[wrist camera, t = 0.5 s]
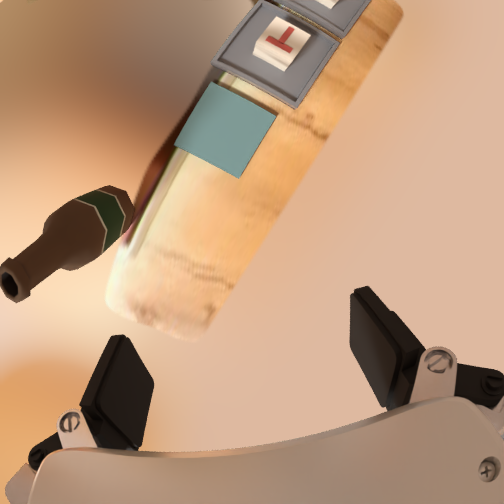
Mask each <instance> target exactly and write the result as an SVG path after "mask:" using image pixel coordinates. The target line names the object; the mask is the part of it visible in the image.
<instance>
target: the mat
mask: <svg viewBox="0 0 504 504" xmlns="http://www.w3.org/2000/svg"><path fill="white" fill-rule="evenodd" d="M275 118H276V116H275V115H273V114H272V113H270V112H268V111H266V110H265V109H263V108H261V107H259V106H258V105H256V104H254V103H252V102H250V101H248V100H247V99H245V98H243V97H241V96H239V95H237V94H235V93H233V92H231V91H229V90H227V89H225V88H223V87H221V86H219V85H217V84H215V83H213V82H211V83H210V84H209V86H208V87H207V89H206V91H205V92H204V94H203V95H202V97H201V98H200V100H199V102H198V103H197V105H196V107H195V108H194V110H193V112H192V113H191V115H190V117H189V118H188V120H187V122H186V124H185V125H184V127H183V129H182V131H181V133H180V134H179V136H178V138H177V140H176V142H175V144H174V145H175V146H177V147H179V148H181V149H183V150H185V151H187V152H189V153H191V154H193V155H195V156H197V157H199V158H201V159H203V160H205V161H207V162H209V163H210V164H212V165H214V166H216V167H218V168H220V169H222V170H224V171H226V172H227V173H229V174H231V175H233V176H235V177H237V178H238V179H239V177H240V176H241V174H242V172H243V171H244V169H245V167H246V165H247V164H248V162H249V160H250V159H251V157H252V155H253V154H254V152H255V150H256V149H257V147H258V145H259V144H260V142H261V140H262V139H263V137H264V136H265V134H266V132H267V131H268V129H269V127H270V126H271V124H272V123H273V121H274V119H275Z"/></svg>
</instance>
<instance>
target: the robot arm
mask: <svg viewBox="0 0 504 504" xmlns="http://www.w3.org/2000/svg"><path fill="white" fill-rule="evenodd" d="M350 348H351V350H352V352H353V354H354V356H355V358H356V359H357V361H358V363H359V365H360V367H361V369H362V371H363V373H364V374H365V377H366V378H367V380H368V382H369V384H370V386H371V388H372V390H373V392H374V394H375V395H376V397H377V400H378V402H379V403H380V405H381V407H386V409H387V412H384V413H381V414H379V415H376V416H373V417H370V418H367V419H364V420H361V421H359V422H355V423H352V424H349V425H346V426H342V427H339V428H336V429H332V430H329V431H325V432H321V433H318V434H314V435H309V436H305V437H301V438H297V439H292V440H287V441H282V442H277V443H271V444H265V445H258V446H252V447H244V448H235V449H226V450H214V451H198V452H149V451H138V449H139V447H141V445H142V442H143V436H144V431H145V426H146V421H147V416H148V411H149V407H150V402H151V398H152V393H153V389H154V381H153V378H152V377H151V375H150V374H149V372H148V370H147V368H146V367H145V365H144V363H143V362H142V360H141V359H140V357H139V355H138V353H137V351H136V350H135V348H134V346H133V344H132V342H131V340H130V339H129V338H128V337H126V336H125V335H114V336H111V337H110V339H109V341H108V343H107V345H106V347H105V349H104V351H103V353H102V355H101V357H100V359H99V362H98V364H97V366H96V368H95V370H94V372H93V374H92V377H91V379H90V381H89V383H88V386H87V388H86V390H85V393H84V395H83V397H82V400H81V402H80V404H79V405H80V406H81V407H82V408H81V411H79V410H77V409H69V410H67V411H65V412H64V413H62V415H61V416H60V417H59V419H58V421H57V431H58V432H56V433H55V434H53V435H52V436H50V437H49V438H47V439H45V440H44V441H43V442H41V443H39V444H37V445H36V446H34V447H33V448H32V450H31V451H30V453H29V456H28V461H29V464H27V463H25V464H24V465H23V466H22V467H21V469H20V470H19V471H18V472H17V473H16V474H15V475H14V476H13V477H12V478H11V480H10V481H9V482H8V483H7V485H6V488H5V494H6V496H7V498H8V500H9V502H10V503H11V504H504V375H503V373H501V372H500V371H498V370H494V369H488V368H482V367H476V366H470V365H464V364H459V363H457V358H456V356H455V354H454V353H453V352H452V351H451V350H449V349H447V348H444V347H432V348H429V349H427V350H426V349H425V348H424V346H423V345H422V344H421V343H420V341H419V340H418V339H417V338H416V337H415V335H414V334H413V333H412V332H411V331H410V329H409V328H408V327H407V326H406V325H405V323H404V322H403V321H402V320H401V319H400V318H399V317H398V315H397V314H396V313H395V312H394V311H390V310H389V309H388V308H387V307H386V305H385V304H384V303H383V302H382V301H381V300H380V298H379V297H378V296H377V295H376V294H375V293H374V292H373V291H372V290H371V288H370V287H369V286H365V287H361V288H357V289H355V290H354V293H352V294H351V295H350Z"/></svg>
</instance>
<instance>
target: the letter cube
mask: <svg viewBox="0 0 504 504" xmlns="http://www.w3.org/2000/svg"><path fill="white" fill-rule="evenodd" d="M310 36H311V35H310V34H308V33H306V32H305V31H303V30H301V29H299V28H298V27H296V26H294V25H292V24H290V23H288V22H286V21H285V20H283V19H281V18H279V17H277V16H276V17H275V19H274V20H273V21H272V22H271V23H270V25H269V26H268V27H267V28H266V30H265V31H264V32H263V34H262V35H261V36H260V37H259V39H258V40H257V41H256V44H255V48H254V51H253V55H255V56H257V57H258V58H260V59H262V60H264V61H266V62H268V63H270V64H272V65H273V66H275V67H277V68H279V69H281V70H282V71H285V70H286V69H287V67H288V66H289V65H290V64H291V62H292V61H293V60H294V58H295V57H296V55H297V54H298V53H299V51H300V50H301V48H302V47H303V46H304V44H305V43H306V41H307V40H308V39H309V37H310Z"/></svg>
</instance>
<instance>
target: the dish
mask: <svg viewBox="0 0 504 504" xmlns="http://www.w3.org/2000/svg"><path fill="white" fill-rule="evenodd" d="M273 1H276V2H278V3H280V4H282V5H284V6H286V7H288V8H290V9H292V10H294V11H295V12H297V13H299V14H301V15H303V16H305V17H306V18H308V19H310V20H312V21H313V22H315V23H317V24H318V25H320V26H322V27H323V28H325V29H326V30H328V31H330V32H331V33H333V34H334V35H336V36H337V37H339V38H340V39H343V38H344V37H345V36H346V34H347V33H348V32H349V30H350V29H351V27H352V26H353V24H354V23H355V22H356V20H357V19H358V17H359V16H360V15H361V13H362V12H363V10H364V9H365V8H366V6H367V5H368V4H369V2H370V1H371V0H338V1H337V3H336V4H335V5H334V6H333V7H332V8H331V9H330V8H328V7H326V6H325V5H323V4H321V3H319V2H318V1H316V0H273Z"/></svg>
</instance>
